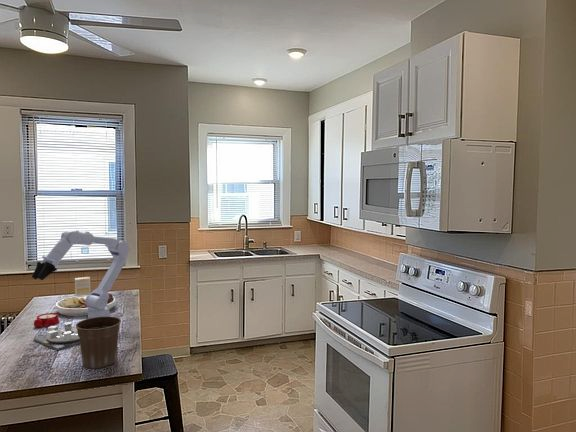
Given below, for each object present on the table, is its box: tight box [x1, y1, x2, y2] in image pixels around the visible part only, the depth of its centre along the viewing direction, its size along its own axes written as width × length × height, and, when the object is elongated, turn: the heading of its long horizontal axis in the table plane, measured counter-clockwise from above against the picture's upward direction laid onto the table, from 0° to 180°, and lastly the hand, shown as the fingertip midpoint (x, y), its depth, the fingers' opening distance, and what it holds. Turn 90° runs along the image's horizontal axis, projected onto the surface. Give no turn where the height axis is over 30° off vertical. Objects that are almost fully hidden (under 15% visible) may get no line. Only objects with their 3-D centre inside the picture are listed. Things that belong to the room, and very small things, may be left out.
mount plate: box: [33, 334, 80, 351], centre depth 197 cm, size 20×20×1 cm
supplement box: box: [74, 276, 92, 297], centre depth 264 cm, size 8×5×13 cm, turn 120°
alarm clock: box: [33, 312, 60, 329], centre depth 216 cm, size 10×6×15 cm
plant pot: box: [75, 316, 122, 370], centre depth 171 cm, size 16×16×16 cm
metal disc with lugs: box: [45, 321, 80, 343], centre depth 196 cm, size 17×17×4 cm
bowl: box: [55, 292, 116, 317], centre depth 243 cm, size 30×30×8 cm
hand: (36, 278), depth 189 cm, fingers open, 7 cm apart
